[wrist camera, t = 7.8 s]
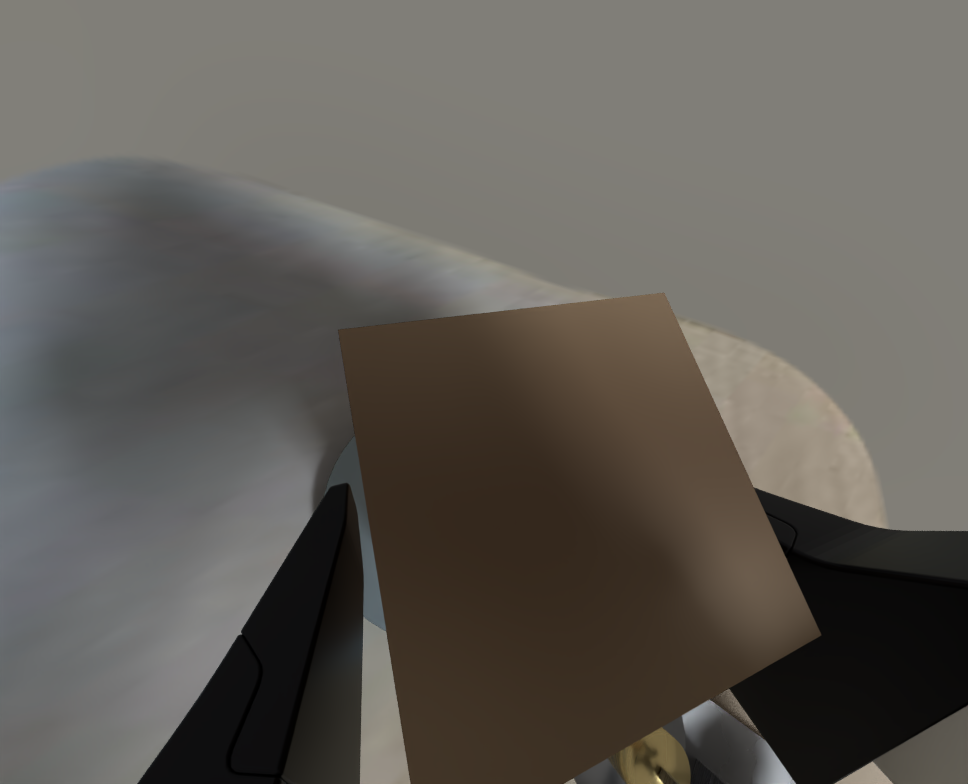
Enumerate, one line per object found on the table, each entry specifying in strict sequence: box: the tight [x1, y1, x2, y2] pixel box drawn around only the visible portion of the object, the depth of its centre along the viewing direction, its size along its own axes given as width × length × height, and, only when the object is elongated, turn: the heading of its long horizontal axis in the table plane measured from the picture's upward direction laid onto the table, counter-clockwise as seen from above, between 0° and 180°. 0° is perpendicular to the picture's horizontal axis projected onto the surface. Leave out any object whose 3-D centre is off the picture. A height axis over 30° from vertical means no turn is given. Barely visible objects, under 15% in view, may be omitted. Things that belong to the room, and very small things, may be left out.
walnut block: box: [338, 293, 821, 784], centre depth 10 cm, size 5×5×13 cm
